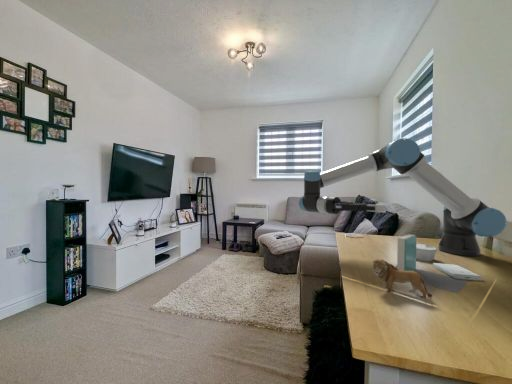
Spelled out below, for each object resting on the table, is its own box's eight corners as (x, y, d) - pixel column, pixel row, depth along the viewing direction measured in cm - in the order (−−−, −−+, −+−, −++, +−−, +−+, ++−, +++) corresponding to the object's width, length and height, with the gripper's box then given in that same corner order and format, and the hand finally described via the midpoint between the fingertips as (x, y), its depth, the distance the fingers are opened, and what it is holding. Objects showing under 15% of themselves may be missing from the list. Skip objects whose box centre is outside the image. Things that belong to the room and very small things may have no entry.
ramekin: (443, 262, 96) (443, 249, 96) (415, 262, 96) (415, 249, 96) (424, 255, 107) (424, 243, 107) (399, 254, 107) (399, 243, 107)
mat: (398, 266, 90) (398, 264, 90) (468, 282, 75) (468, 281, 75) (382, 274, 82) (382, 272, 82) (457, 294, 66) (457, 293, 66)
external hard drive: (457, 269, 88) (482, 281, 75) (432, 267, 89) (453, 278, 77) (457, 264, 88) (482, 275, 75) (432, 262, 89) (453, 273, 77)
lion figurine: (372, 292, 67) (373, 261, 67) (371, 285, 72) (371, 256, 72) (435, 301, 62) (435, 267, 62) (428, 293, 67) (429, 261, 67)
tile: (408, 268, 86) (408, 234, 86) (415, 270, 84) (416, 235, 84) (397, 274, 80) (397, 237, 80) (405, 276, 78) (406, 239, 78)
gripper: (337, 212, 110) (392, 217, 92) (320, 214, 102) (377, 220, 83) (337, 196, 110) (392, 198, 92) (320, 196, 102) (377, 199, 83)
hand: (385, 209), depth 88 cm, fingers closed
